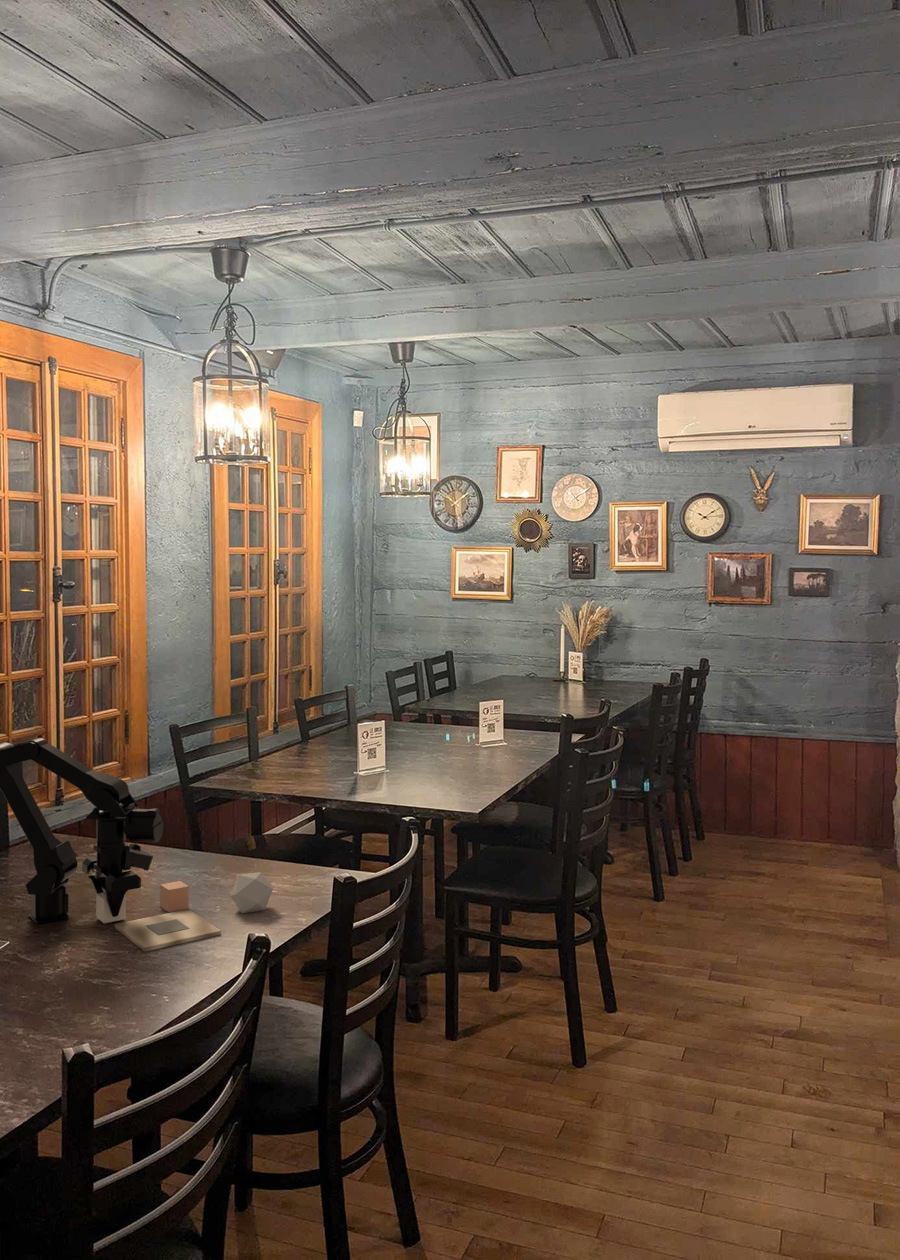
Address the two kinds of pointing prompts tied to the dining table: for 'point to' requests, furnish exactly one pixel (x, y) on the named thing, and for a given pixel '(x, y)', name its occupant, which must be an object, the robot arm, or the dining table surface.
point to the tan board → (167, 930)
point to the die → (251, 892)
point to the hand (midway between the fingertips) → (111, 913)
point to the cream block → (104, 911)
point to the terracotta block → (174, 896)
